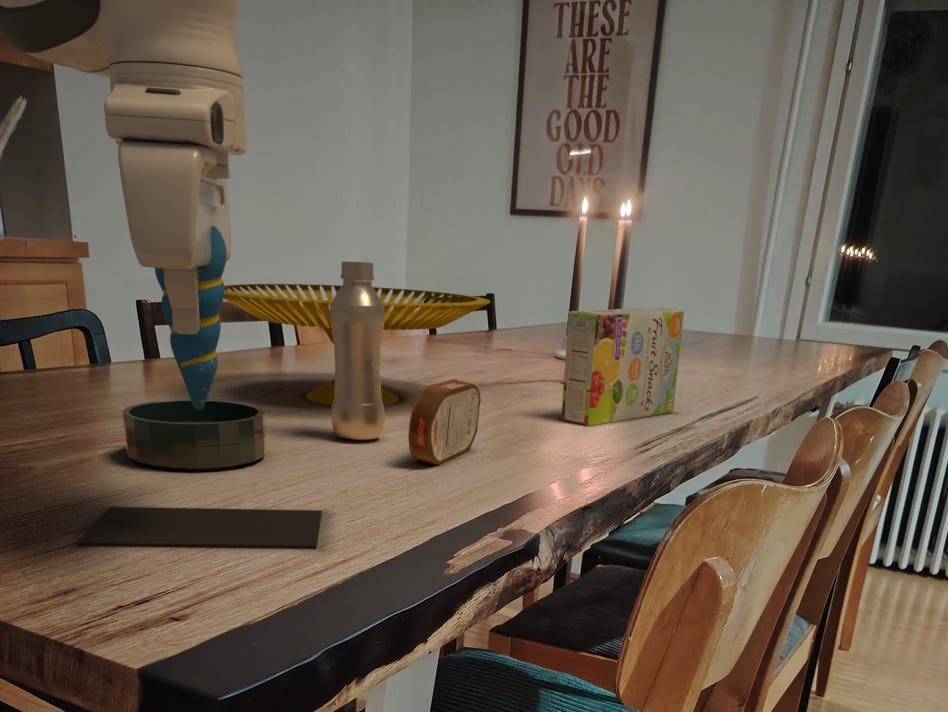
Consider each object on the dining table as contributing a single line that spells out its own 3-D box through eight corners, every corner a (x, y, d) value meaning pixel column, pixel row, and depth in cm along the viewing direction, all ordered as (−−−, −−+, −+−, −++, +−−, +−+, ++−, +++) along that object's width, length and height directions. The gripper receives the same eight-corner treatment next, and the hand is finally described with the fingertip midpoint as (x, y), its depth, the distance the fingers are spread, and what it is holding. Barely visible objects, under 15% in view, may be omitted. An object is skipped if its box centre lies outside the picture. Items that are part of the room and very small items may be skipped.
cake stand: (477, 384, 160) (481, 291, 154) (496, 429, 123) (502, 309, 117) (240, 374, 156) (235, 279, 150) (185, 417, 120) (176, 294, 114)
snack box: (644, 408, 145) (656, 306, 139) (674, 413, 142) (687, 309, 136) (557, 421, 131) (567, 308, 125) (589, 427, 128) (600, 312, 122)
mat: (78, 547, 71) (77, 542, 71) (110, 511, 80) (110, 506, 80) (316, 550, 73) (316, 545, 73) (321, 514, 82) (321, 510, 82)
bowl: (113, 472, 92) (107, 421, 90) (144, 442, 105) (139, 397, 103) (258, 475, 94) (256, 425, 92) (271, 445, 107) (269, 401, 105)
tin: (458, 445, 112) (461, 373, 109) (482, 448, 111) (486, 376, 108) (404, 469, 99) (406, 389, 96) (431, 473, 98) (434, 392, 95)
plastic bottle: (346, 447, 108) (344, 262, 100) (321, 436, 113) (318, 260, 105) (394, 443, 112) (397, 264, 104) (369, 432, 117) (369, 261, 109)
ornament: (180, 402, 75) (164, 198, 69) (243, 406, 75) (232, 202, 69) (157, 413, 70) (138, 195, 64) (224, 417, 70) (211, 199, 64)
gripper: (163, 133, 74) (177, 316, 79) (95, 100, 55) (119, 342, 61) (244, 138, 74) (252, 319, 80) (204, 108, 56) (218, 346, 61)
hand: (194, 329), depth 70 cm, fingers closed on ornament, 4 cm apart
